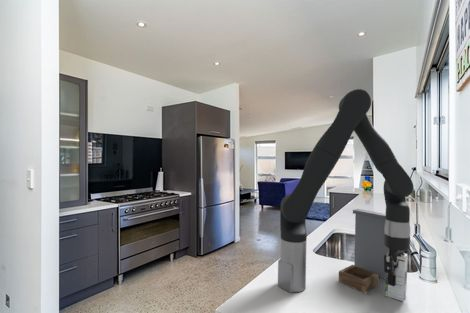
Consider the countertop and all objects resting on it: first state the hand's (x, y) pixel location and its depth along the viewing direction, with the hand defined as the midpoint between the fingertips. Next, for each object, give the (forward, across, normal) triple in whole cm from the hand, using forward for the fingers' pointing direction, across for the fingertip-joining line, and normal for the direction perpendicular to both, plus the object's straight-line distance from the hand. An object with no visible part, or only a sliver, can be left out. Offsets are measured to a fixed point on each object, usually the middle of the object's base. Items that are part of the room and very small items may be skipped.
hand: (395, 282), depth 89 cm
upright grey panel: (+5, -10, -12) cm, 16 cm away
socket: (+5, +2, -12) cm, 13 cm away
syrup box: (+5, 0, 0) cm, 5 cm away
